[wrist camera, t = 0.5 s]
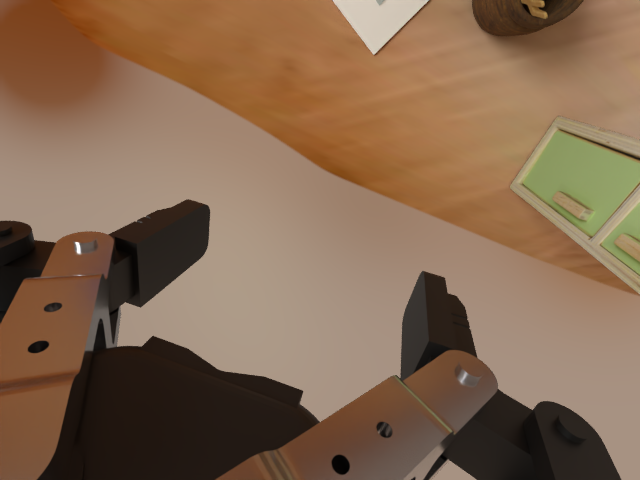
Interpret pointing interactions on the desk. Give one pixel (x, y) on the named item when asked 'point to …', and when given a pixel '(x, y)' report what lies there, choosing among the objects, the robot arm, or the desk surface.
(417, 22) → the desk surface
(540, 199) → the toy refrigerator
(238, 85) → the desk surface
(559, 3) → the utensil holder
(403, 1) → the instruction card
